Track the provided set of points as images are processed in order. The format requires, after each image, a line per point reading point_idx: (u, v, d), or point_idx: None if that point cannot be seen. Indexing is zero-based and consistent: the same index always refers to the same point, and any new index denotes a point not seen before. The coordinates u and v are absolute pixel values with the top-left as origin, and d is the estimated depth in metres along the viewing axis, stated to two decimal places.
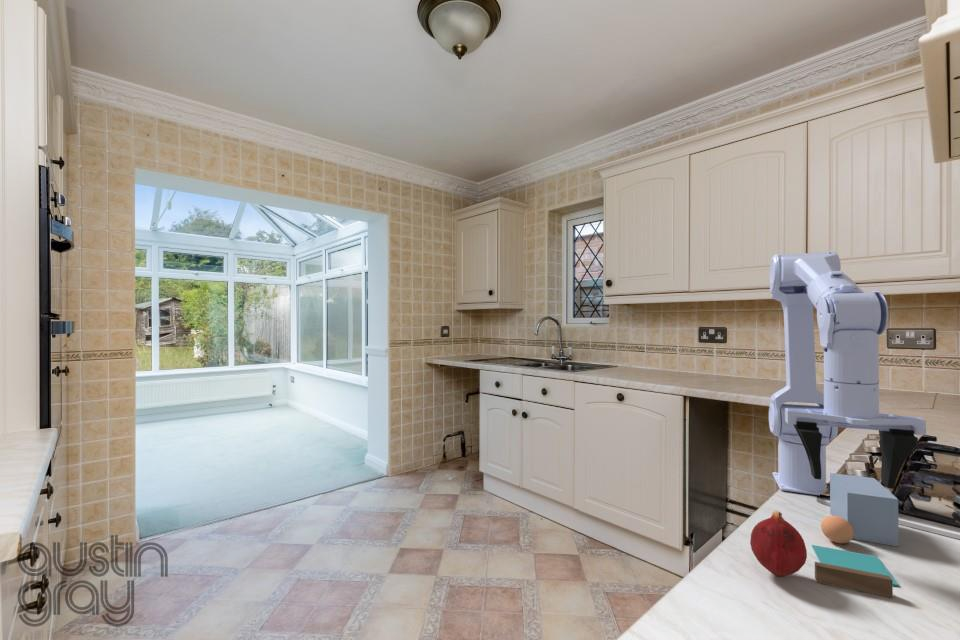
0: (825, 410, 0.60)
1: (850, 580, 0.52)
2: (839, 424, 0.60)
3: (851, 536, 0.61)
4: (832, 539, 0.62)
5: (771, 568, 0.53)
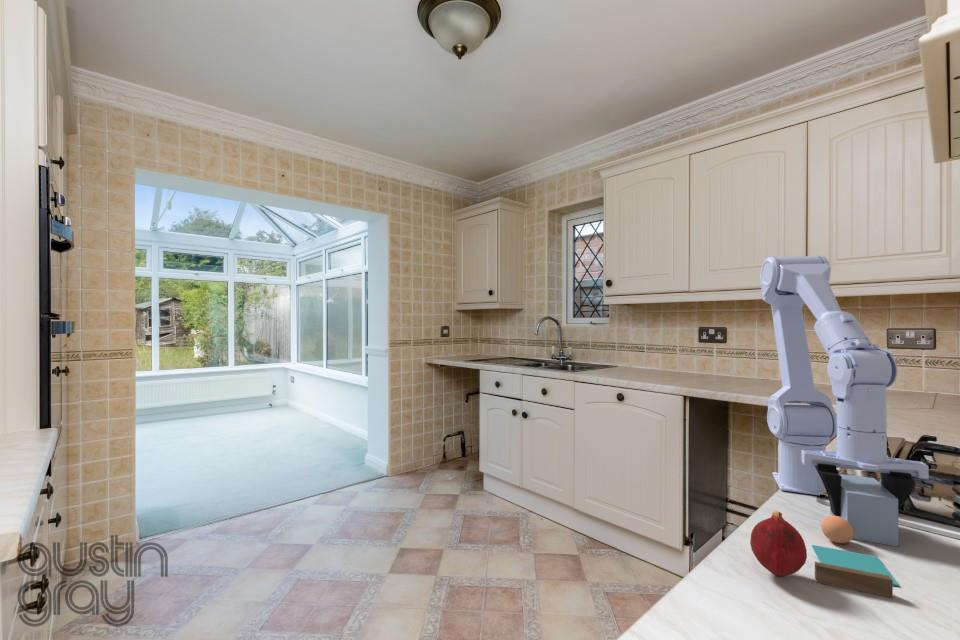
0: (838, 453, 0.67)
1: (850, 580, 0.52)
2: (851, 466, 0.67)
3: (851, 536, 0.61)
4: (832, 539, 0.62)
5: (771, 568, 0.53)
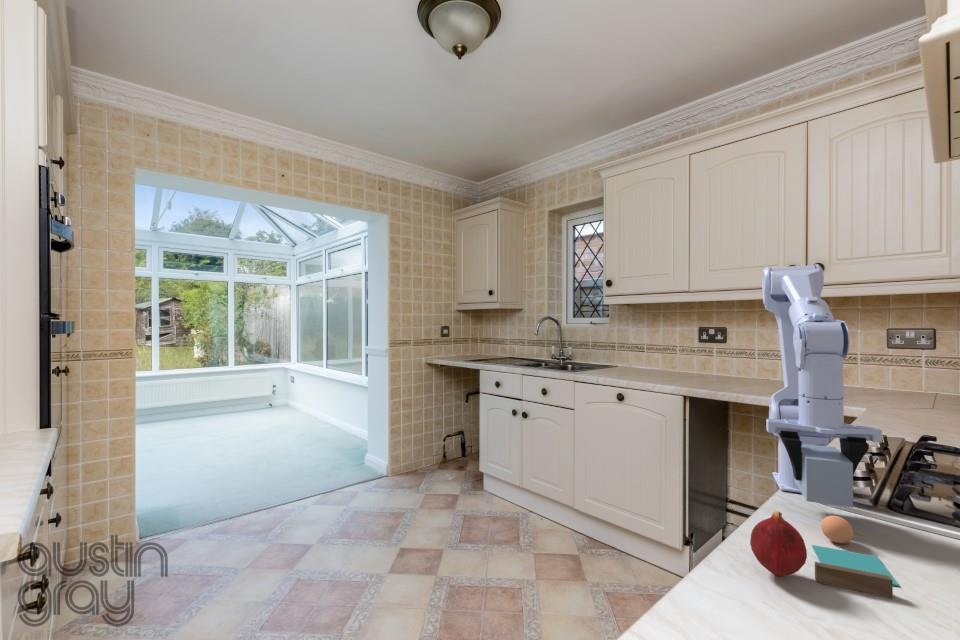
0: (799, 421, 0.71)
1: (850, 580, 0.52)
2: (811, 433, 0.70)
3: (851, 536, 0.61)
4: (832, 539, 0.62)
5: (771, 568, 0.53)
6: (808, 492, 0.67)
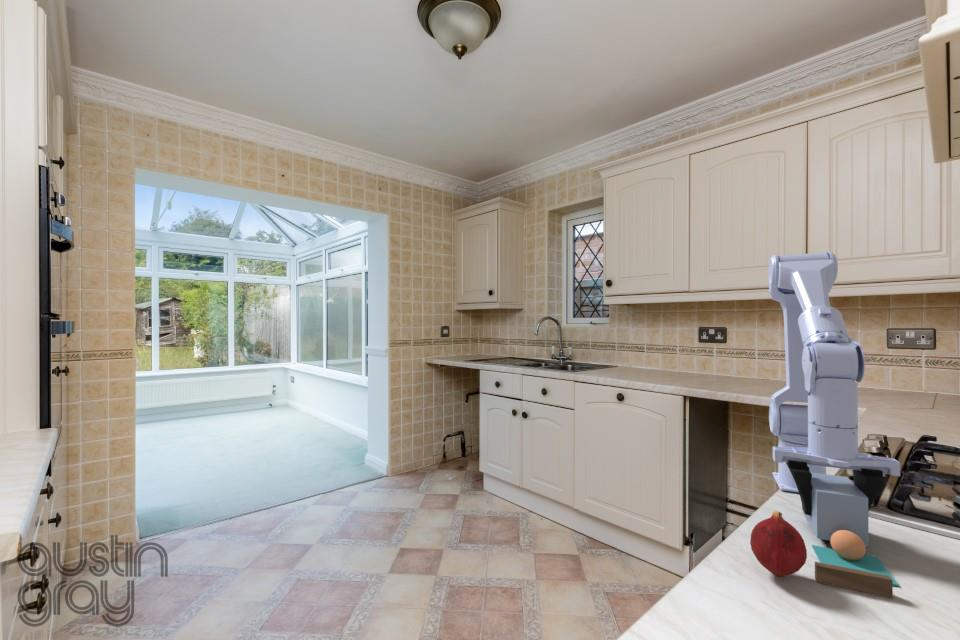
0: (809, 450, 0.65)
1: (850, 580, 0.52)
2: (822, 463, 0.65)
3: None
4: None
5: (771, 568, 0.53)
6: (819, 528, 0.61)
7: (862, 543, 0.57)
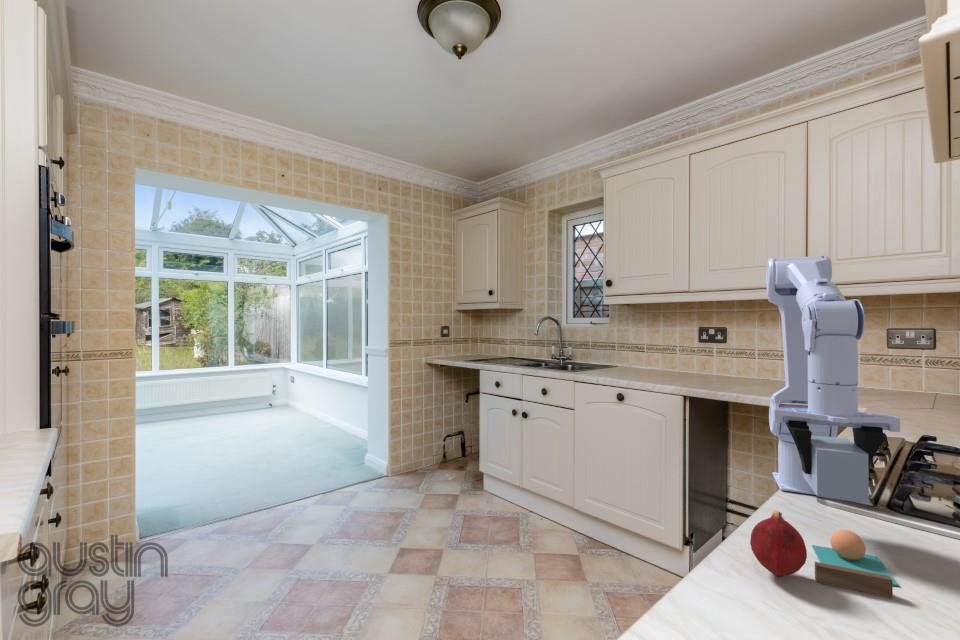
0: (809, 409, 0.65)
1: (850, 580, 0.52)
2: (822, 422, 0.64)
3: None
4: None
5: (771, 568, 0.53)
6: (819, 487, 0.61)
7: (862, 543, 0.57)
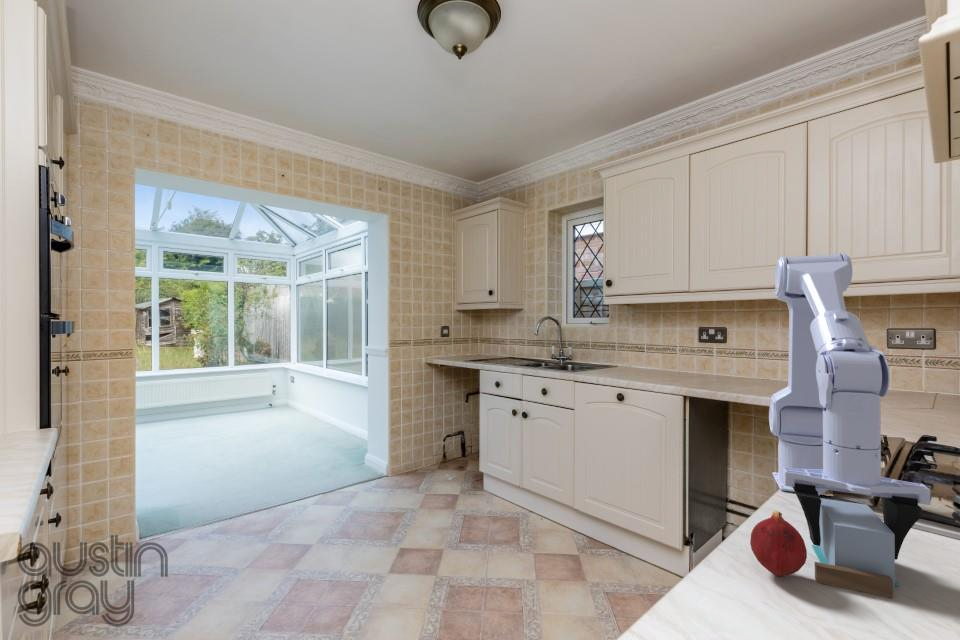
0: (824, 473, 0.58)
1: (850, 580, 0.52)
2: (839, 488, 0.57)
3: None
4: None
5: (771, 568, 0.53)
6: None
7: None
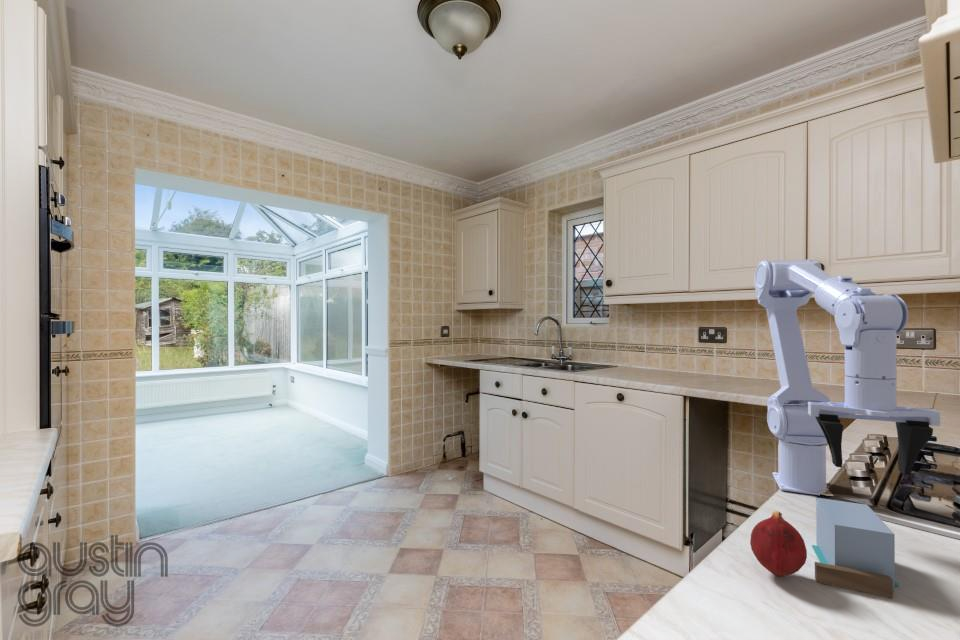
0: (846, 403, 0.65)
1: (850, 580, 0.52)
2: (859, 416, 0.65)
3: None
4: None
5: (771, 568, 0.53)
6: None
7: None
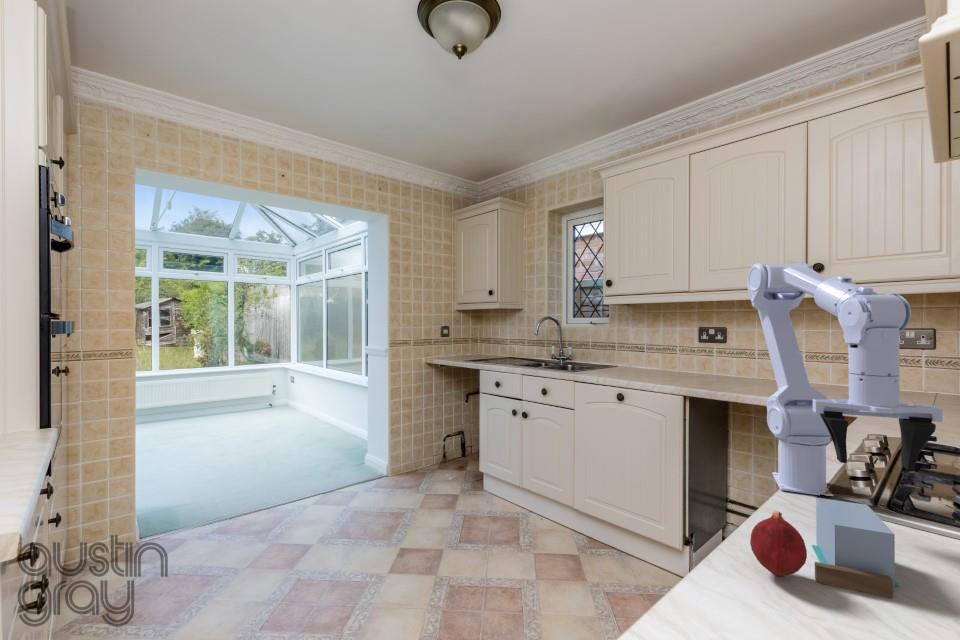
0: (850, 400, 0.67)
1: (850, 580, 0.52)
2: (863, 413, 0.66)
3: None
4: None
5: (771, 568, 0.53)
6: None
7: None
